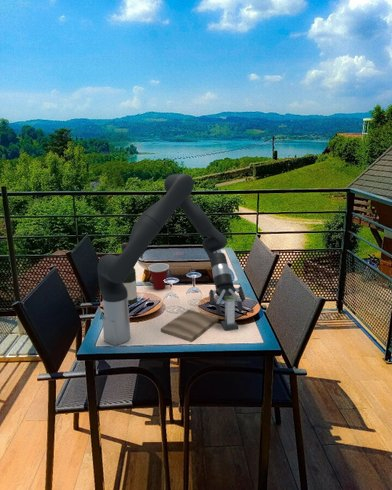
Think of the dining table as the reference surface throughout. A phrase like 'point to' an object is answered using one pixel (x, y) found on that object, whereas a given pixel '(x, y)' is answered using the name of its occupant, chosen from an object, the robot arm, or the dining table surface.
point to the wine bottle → (130, 283)
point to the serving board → (189, 325)
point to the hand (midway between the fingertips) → (230, 313)
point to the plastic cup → (158, 275)
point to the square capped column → (229, 314)
